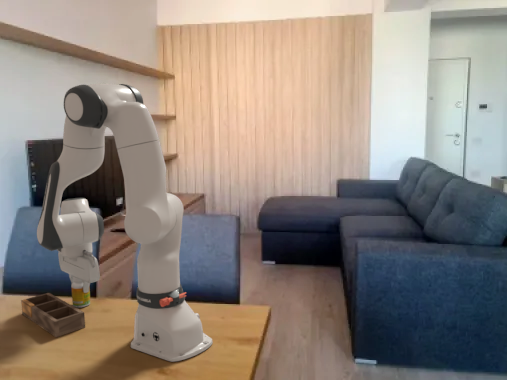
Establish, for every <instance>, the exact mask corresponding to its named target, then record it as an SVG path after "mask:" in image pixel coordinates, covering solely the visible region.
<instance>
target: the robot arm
mask: <svg viewBox="0 0 507 380" xmlns="http://www.w3.org/2000/svg"><path fill="white" fill-rule="evenodd" d="M63 109H64V113H65V119H64V126H63V136H62V137H63V139H62V140H63V143H62V144H63V145H62V151H61V153H60V156H59V157H58V159H57V160H56V161H55V162H53V163H52V164H51V166H50V167H49V171H48V173H47V174H48V175H47V179H46V184H45V190H44V196H43V203H42V206H41V212H40V213H41V214H40V217H39V220H38V222H37V223H38V224H37V228H36V229H37V230H36V237H37V241H38V244H39V245H40V246H41V247H42V248H44V249H45V250H48V251H50V252H54V251H58V253H57V254H58V263H59V267H60V270H61V271H62V272H63V273H66V274H68V277H69V280H70V282H71V284H72V283H73V282H74V281H73V276H75V277H77V278H79V279H81V280H82V282H83V287H82V292H84V293H87V292H89V289H90V285H91V283H96V282H98V281H100V268H99V262H98V259H97V258H96V256H94V254H93V243H95V242H99V240H101V238H102V237H103V235H104V234H105V226H104V225H105V224H104V218H103V217H102V216H101V215H100V214H99V213H98V212H96V211H93V210H92V209H91V208H90V206H89V201H88V199H86V198H85V197H75V198H67V199H64V200H63V201H62V197H63V193H64V191H65V190H66V188H68V186H70V185H71V184H74V183H75V182H76V181H79V180H81V179H83V178H85V177H87V176H90V175H92V174H93V173H95V172H96V171H97V170H98V169H100V167H101V166H102V165H103V162H104V159H105V148H106V147H105V146H106V145H105V143H106V141H105V133H106V129H107V128H108V129H109V130H110V131H111V132H112V134H113V137H114V142H115V147H116V150H117V154H118V158H119V164H120V166H121V170H122V171H121V172H122V175H123V180H124V182H123V183H124V190H125V192H124V194H125V210H126V211H125V217H124V221H123V223H124V224H123V226H124V231H125V233H126V235H127V237H128V238H130V239H131V240H132V241H133V242H135V243H137V244H140V248H139V252H138V256H137V260H136V263H137V265H136V266H137V267H136V268H137V286H138V287H137V288H136V300H137V301H136V302H137V303H138V304H137V305H138V306H137V309H136V312H135V314H134V322H133V323H134V328H133V340H132V341H131V342H130V348H131V349H133V350H136V351H139V352H142V353H145V354H148V355H151V356H153V357H157V358H159V359H162V360H165V361H168V362H173V363H174V362H180V361H182V360H183V361H184V360H187V359H190V358H192V357H194V356H197V355H199V354H201V353H203V352H205V351H206V350H207V349H209V348H210V347H211V346H212V345H213V338H212V337H210V336H209V335H207V334H206V333H204V330H203V323H202V320H201V318H200V317H201V316H200V314H199V313H198V312H194V309H192V308H191V306H190V305H189V304H188V303H187V301H186V300H185V299H186V297H187V295H186V294H187V292H186V291H185V292H184V290H183V286H182V284H181V279H180V277H181V276H180V274H181V273H180V272H181V271H180V251H181V249H180V248H181V243H182V242H181V241H182V231H183V217H184V212H185V211H184V209H185V208H184V204H183V202H182V200H181V199H180V197H178V196H177V195H175V194H173V193H170V192H167V178H166V177H167V165H166V162H165V157H164V153H163V150H162V145H161V144H162V143H161V142H160V137H159V133H158V131H157V126H156V124H155V122H154V120H153V117H152V115H151V112H150V111H149V108H148V107H147V106H146V105H145V104H144V98H143V95H142V94H141V91H139V90H138V89H137V88H136V87H134V86H132V85H130V84H124V83H120V84H119V83H118V84H117V83H105V82H103V83H102V82H100V83H98V82H97V83H90V84H79V85H78V84H77V85H75V86H73V87H70V88H69V89H68V90H67V91H66V92H65V94H64V98H63Z"/></svg>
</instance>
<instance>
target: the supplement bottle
mask: <svg viewBox="0 0 507 380" xmlns="http://www.w3.org/2000/svg"><path fill="white" fill-rule="evenodd" d="M73 281H74V282H73V283H72V282H71V284H70V285H71V297H72V298H71V300H72V301H71V302H72V306H74V307H76V308H77V309H79V308H85V307H87V306H89V305H90V304H91V291H90V290H91V289H90V288H89V292H87V293H84V292H82V287H83V282H82V280H81V279H79V278H77V277H75V276H73Z"/></svg>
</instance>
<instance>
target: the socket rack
mask: <svg viewBox="0 0 507 380" xmlns="http://www.w3.org/2000/svg"><path fill="white" fill-rule="evenodd" d="M20 301H21V302H20V303H21V313H22V314H21V315H23V316H24V317H26V318H27V319H29V320H31V322H33V323H35V324H36V325H38V327H40V328H42V329H43V330H44V331H46V332H48V333H49V334H51V335H52V336H53V337H54V338H59V337H61V336H64V335H66V334H67V335H68V334H70V333H73V332H76V331H78V330H82V329H84V328H86V320H85V319H86V317H85V312H84V311H83V310H81V309H79V308H77V307H74V306H73V304H70V303H69V302H66V300H63V299H61V298H59V296H58V297H57V296H56V295H54V294H52V293H51V292H47V293H42V294H39V295H35V296H32V297H28V298H24V299H21V300H20Z"/></svg>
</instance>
